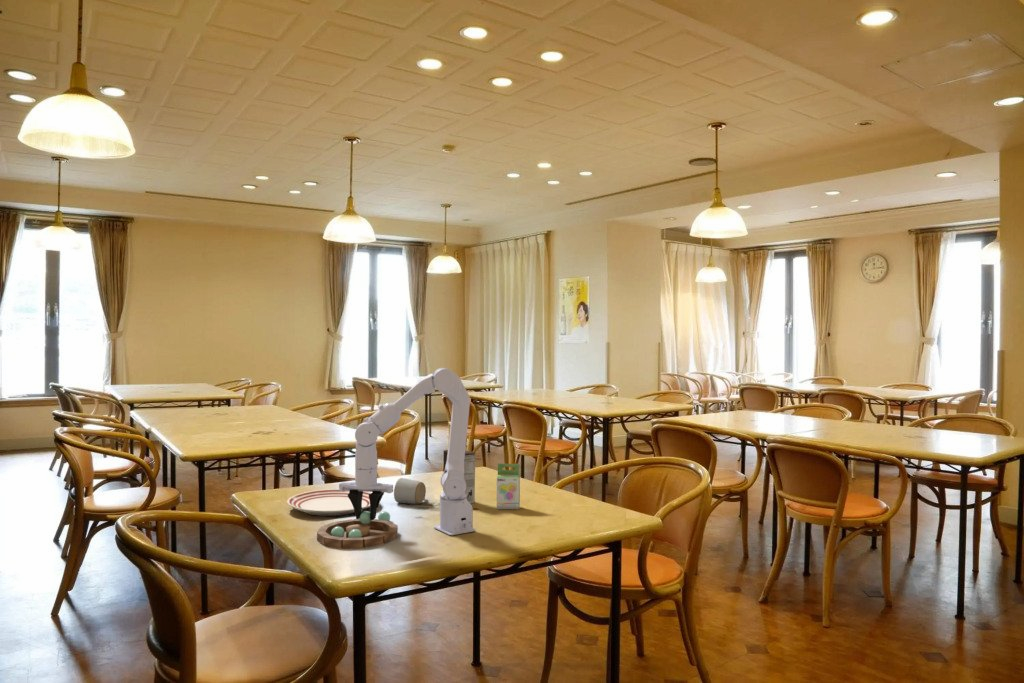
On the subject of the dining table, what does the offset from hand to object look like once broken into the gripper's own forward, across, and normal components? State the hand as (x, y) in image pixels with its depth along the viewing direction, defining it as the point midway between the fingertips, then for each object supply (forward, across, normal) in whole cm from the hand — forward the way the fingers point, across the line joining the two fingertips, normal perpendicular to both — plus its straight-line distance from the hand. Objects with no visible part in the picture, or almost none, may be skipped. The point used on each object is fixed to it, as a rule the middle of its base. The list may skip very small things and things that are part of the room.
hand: (365, 518), depth 189 cm
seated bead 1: (+3, +4, +9) cm, 11 cm away
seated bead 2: (+3, -1, +11) cm, 11 cm away
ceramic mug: (+4, -1, -36) cm, 36 cm away
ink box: (+4, -32, -34) cm, 47 cm away
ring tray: (+4, 0, +6) cm, 7 cm away
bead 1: (+1, 0, 0) cm, 1 cm away
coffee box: (+4, -16, -40) cm, 43 cm away
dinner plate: (+4, +20, -24) cm, 32 cm away
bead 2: (+4, -1, -10) cm, 11 cm away
